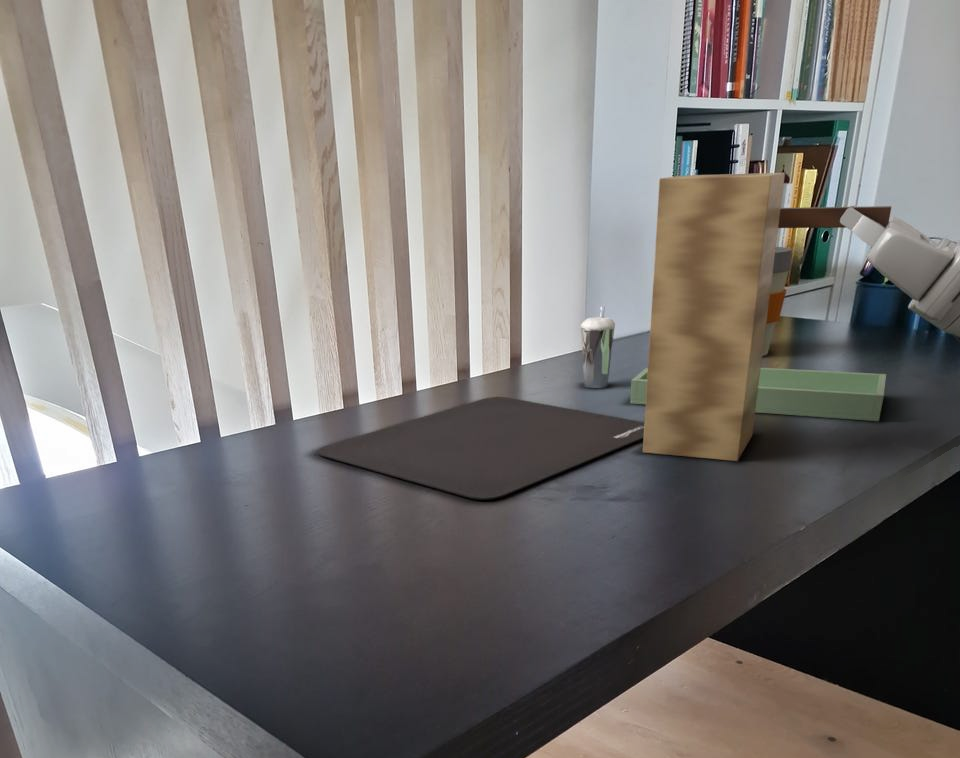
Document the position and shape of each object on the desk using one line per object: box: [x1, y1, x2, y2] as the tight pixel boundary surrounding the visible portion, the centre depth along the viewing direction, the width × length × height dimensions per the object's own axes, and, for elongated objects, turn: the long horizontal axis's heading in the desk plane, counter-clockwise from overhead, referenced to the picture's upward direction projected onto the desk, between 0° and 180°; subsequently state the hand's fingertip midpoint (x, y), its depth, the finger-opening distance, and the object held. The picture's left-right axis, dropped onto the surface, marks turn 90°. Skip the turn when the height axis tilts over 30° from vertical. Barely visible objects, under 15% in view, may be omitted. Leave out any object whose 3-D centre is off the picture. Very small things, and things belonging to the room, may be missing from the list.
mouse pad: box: [316, 396, 645, 501], centre depth 97 cm, size 32×27×1 cm
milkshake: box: [580, 306, 616, 389], centre depth 118 cm, size 4×5×10 cm
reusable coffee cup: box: [762, 246, 793, 357], centre depth 133 cm, size 13×13×15 cm
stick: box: [778, 205, 892, 229], centre depth 100 cm, size 24×2×2 cm, turn 66°
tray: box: [629, 366, 887, 422], centre depth 109 cm, size 30×12×3 cm, turn 66°
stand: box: [642, 172, 786, 462], centre depth 88 cm, size 10×10×26 cm
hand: (844, 212), depth 97 cm, fingers closed on stick, 2 cm apart
